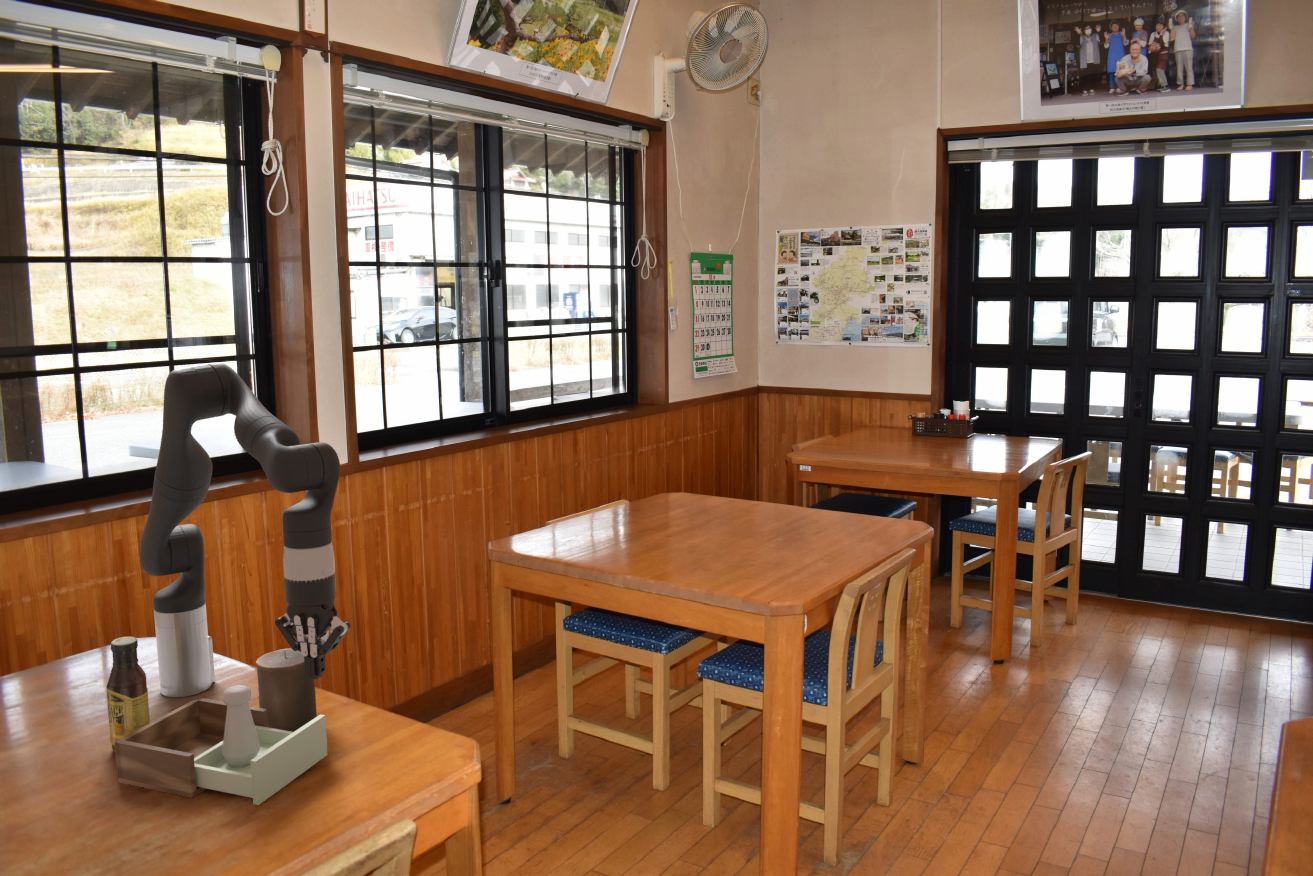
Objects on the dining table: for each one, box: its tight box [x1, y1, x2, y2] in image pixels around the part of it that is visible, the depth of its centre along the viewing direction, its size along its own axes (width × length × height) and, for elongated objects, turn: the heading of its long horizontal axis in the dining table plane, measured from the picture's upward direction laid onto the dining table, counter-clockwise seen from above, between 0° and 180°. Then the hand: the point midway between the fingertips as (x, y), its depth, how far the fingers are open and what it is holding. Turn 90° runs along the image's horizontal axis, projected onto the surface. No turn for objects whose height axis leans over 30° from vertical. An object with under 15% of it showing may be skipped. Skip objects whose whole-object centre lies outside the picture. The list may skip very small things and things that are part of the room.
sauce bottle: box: [105, 636, 151, 753], centre depth 170 cm, size 7×6×20 cm
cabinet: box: [114, 697, 269, 799], centre depth 165 cm, size 18×15×7 cm
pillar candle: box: [255, 647, 318, 732], centre depth 178 cm, size 10×10×15 cm
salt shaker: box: [222, 684, 260, 768], centre depth 161 cm, size 6×6×13 cm
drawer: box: [194, 714, 328, 806], centre depth 161 cm, size 17×15×7 cm
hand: (315, 677), depth 155 cm, fingers closed
